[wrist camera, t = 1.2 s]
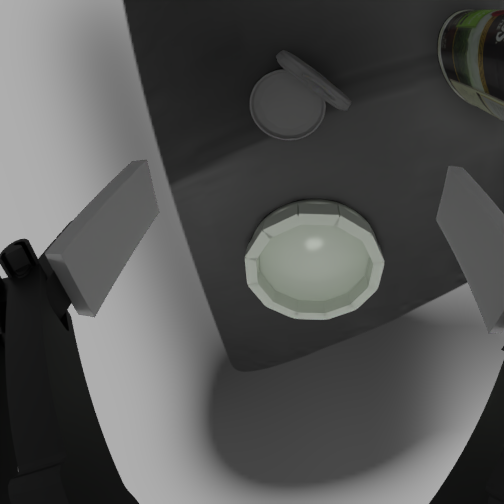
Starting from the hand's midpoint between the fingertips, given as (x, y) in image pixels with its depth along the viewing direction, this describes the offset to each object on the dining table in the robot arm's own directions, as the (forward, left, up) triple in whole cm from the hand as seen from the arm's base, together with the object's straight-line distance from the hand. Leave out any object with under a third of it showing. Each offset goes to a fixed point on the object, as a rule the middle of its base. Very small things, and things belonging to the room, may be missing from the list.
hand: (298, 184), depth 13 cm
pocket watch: (-1, 0, -17) cm, 17 cm away
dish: (+17, +2, -17) cm, 24 cm away
